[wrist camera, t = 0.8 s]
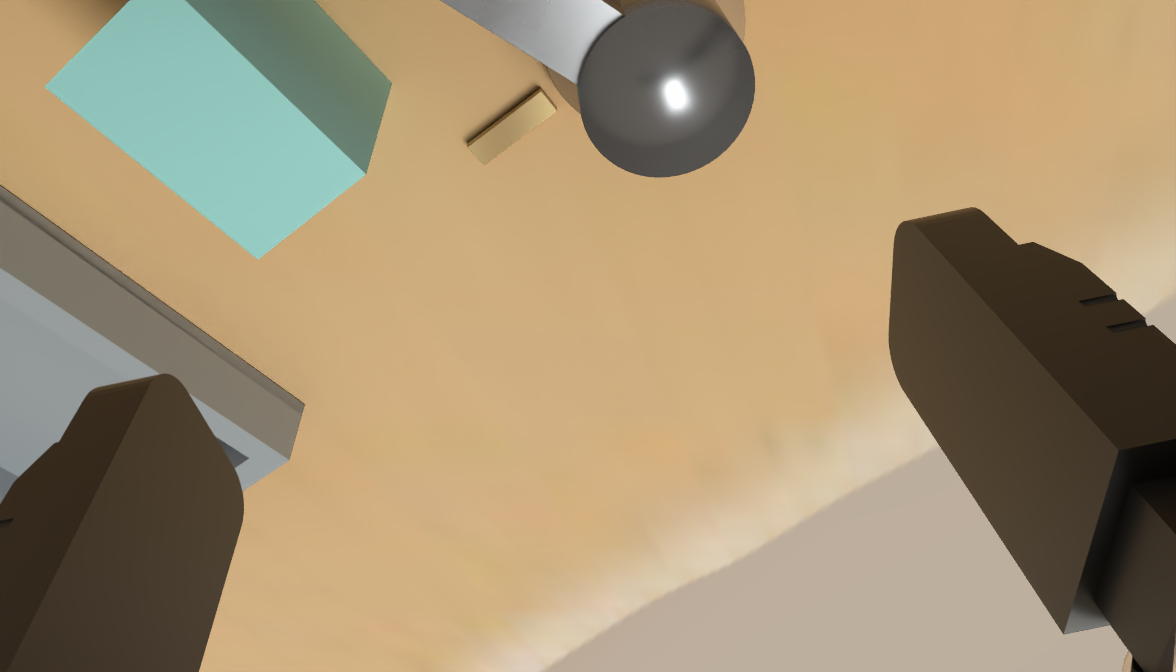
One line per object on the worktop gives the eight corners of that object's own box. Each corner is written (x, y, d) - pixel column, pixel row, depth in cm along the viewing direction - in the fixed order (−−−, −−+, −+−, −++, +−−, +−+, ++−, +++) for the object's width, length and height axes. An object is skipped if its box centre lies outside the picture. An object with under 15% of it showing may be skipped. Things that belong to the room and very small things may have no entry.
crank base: (670, -132, 22) (674, -127, 22) (775, 45, 25) (781, 53, 25) (410, 81, 25) (408, 90, 25) (533, 215, 28) (534, 225, 28)
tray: (-115, 102, 24) (-181, 147, 22) (304, 404, 33) (289, 460, 31) (-302, 311, 28) (-375, 367, 26) (118, 533, 37) (91, 591, 35)
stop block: (231, -90, 22) (156, -28, 17) (392, 82, 25) (366, 174, 21) (136, 5, 23) (44, 86, 19) (302, 157, 27) (257, 259, 22)
